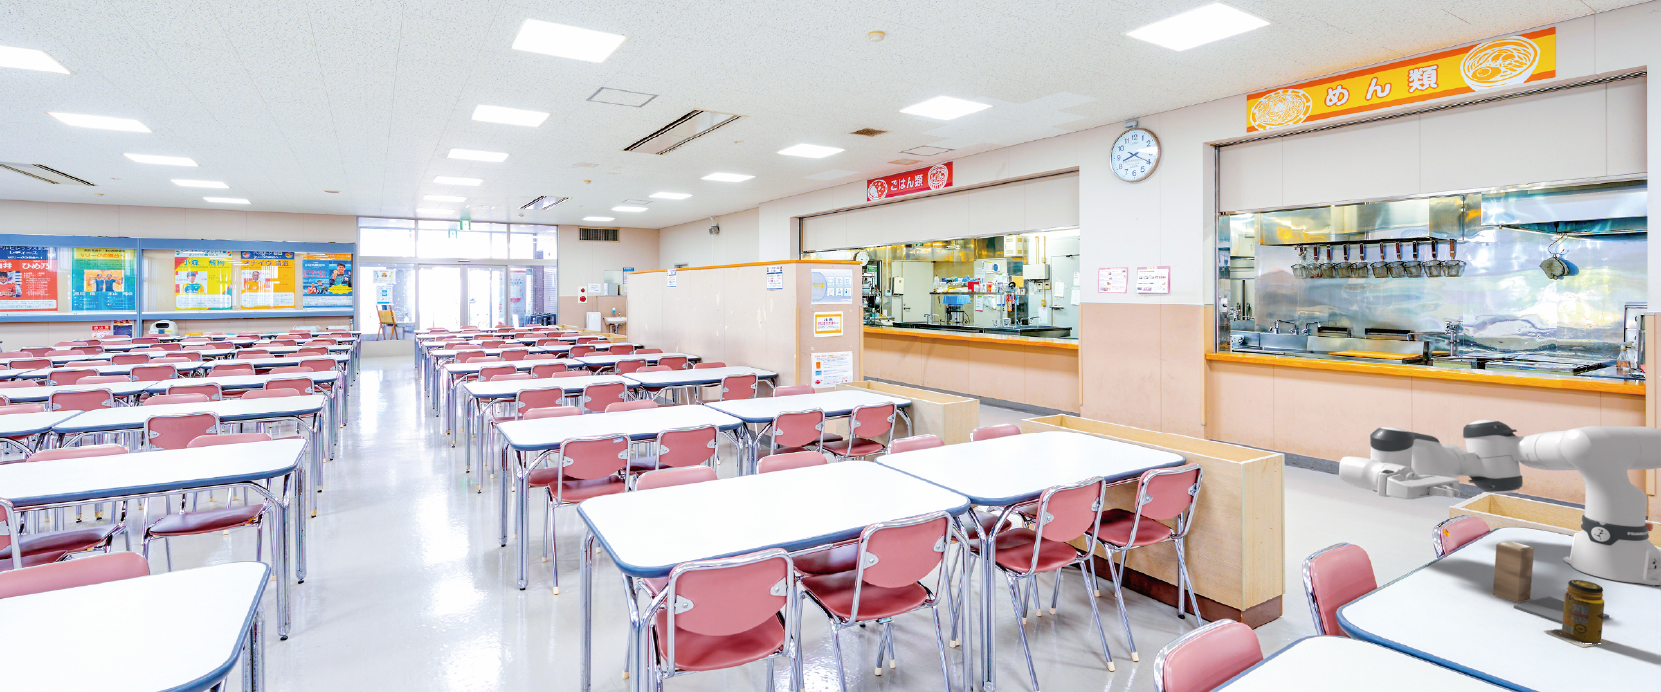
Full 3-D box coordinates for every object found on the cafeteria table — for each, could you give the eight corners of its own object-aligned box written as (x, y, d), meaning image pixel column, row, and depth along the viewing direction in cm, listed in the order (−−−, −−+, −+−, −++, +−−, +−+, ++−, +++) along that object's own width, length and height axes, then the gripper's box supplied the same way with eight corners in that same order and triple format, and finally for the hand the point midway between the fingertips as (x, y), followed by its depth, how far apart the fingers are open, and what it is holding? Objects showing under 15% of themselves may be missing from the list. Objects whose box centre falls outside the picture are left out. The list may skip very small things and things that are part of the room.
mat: (1549, 598, 182) (1549, 596, 182) (1609, 617, 172) (1609, 615, 171) (1513, 607, 177) (1513, 605, 177) (1573, 627, 167) (1573, 625, 167)
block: (1505, 591, 186) (1509, 540, 185) (1530, 599, 182) (1534, 546, 181) (1492, 594, 184) (1496, 542, 183) (1517, 602, 180) (1521, 549, 179)
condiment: (1612, 643, 159) (1617, 588, 158) (1582, 647, 158) (1587, 592, 157) (1571, 628, 167) (1576, 575, 166) (1542, 632, 165) (1546, 579, 164)
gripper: (1423, 488, 210) (1481, 501, 197) (1373, 496, 203) (1430, 510, 190) (1425, 466, 210) (1482, 478, 197) (1375, 473, 203) (1431, 486, 190)
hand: (1456, 494), depth 193 cm, fingers closed
